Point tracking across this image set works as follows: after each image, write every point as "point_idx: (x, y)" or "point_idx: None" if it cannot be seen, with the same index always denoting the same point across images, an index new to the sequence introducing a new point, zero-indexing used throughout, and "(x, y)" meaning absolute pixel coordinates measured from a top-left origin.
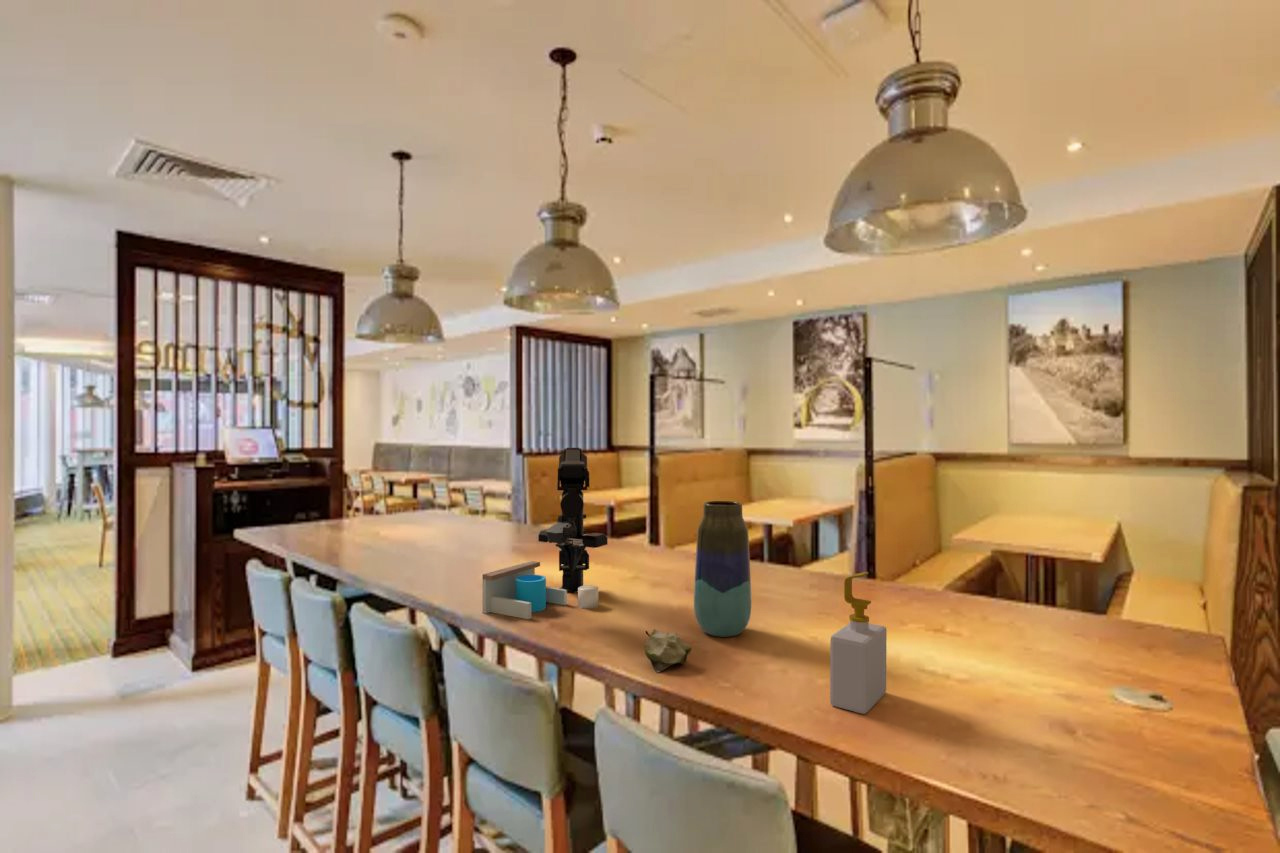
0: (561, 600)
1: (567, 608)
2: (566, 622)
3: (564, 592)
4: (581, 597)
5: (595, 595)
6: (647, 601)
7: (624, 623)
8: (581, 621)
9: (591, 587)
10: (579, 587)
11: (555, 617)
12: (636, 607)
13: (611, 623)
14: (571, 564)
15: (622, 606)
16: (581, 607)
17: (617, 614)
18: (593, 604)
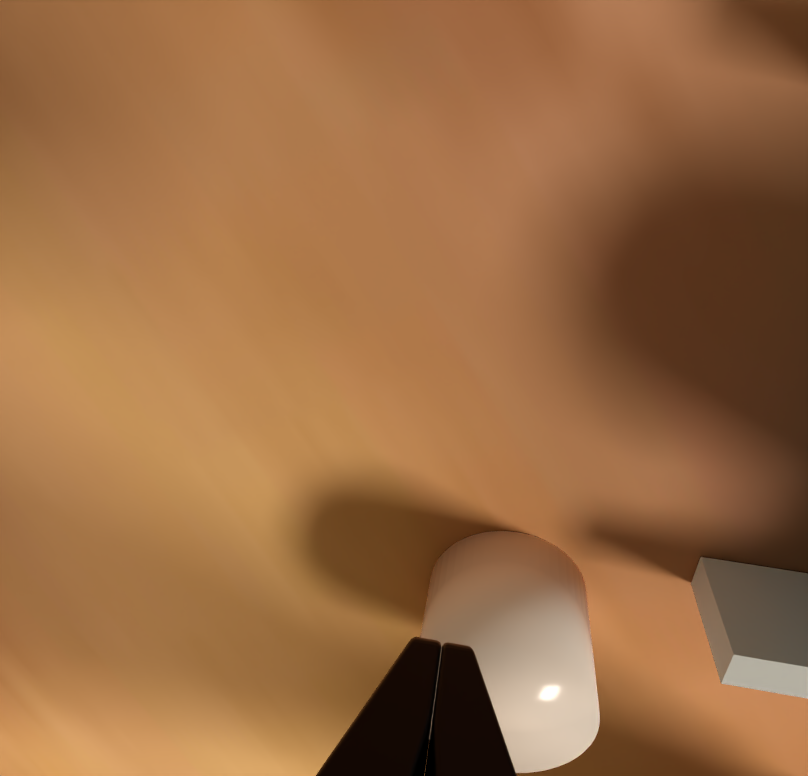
0: (740, 586)
1: (632, 494)
2: (434, 139)
3: (727, 642)
4: (526, 596)
5: None
6: (216, 740)
7: (26, 321)
8: (329, 228)
9: None
10: (586, 707)
11: (614, 234)
12: (196, 637)
13: (98, 282)
14: (397, 741)
15: (283, 634)
16: (525, 536)
17: (203, 484)
18: (436, 577)
